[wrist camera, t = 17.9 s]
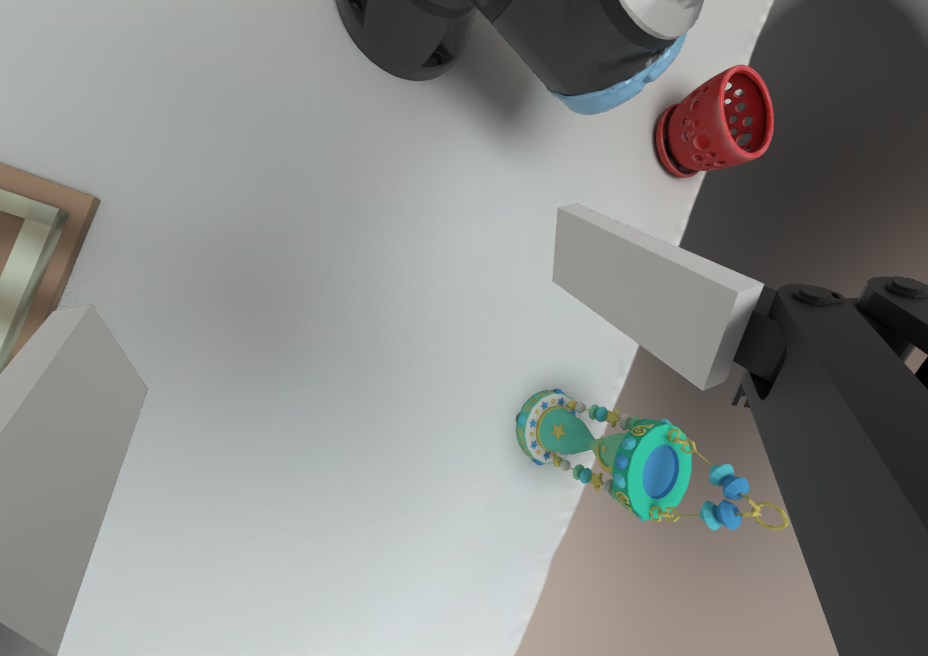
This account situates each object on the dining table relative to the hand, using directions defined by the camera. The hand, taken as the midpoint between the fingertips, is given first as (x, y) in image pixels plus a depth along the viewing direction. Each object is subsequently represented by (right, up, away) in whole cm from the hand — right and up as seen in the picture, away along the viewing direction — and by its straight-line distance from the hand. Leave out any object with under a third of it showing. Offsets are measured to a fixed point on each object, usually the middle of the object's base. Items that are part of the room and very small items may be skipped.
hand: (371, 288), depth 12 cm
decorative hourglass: (+14, -15, +46) cm, 51 cm away
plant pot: (+38, +30, +56) cm, 74 cm away
